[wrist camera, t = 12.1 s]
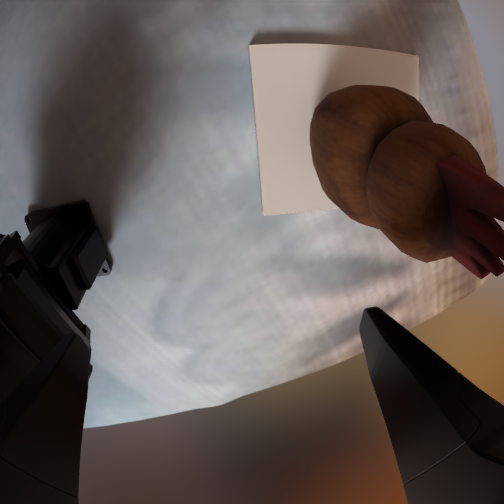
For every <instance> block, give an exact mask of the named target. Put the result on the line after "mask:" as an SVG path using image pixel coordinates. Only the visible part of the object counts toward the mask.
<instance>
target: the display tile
mask: <svg viewBox="0 0 504 504" xmlns="http://www.w3.org/2000/svg"><path fill="white" fill-rule="evenodd" d="M248 52H249V63H250V74H251V84H252V96H253V107H254V119H255V130H256V142H257V154H258V167H259V179H260V192H261V205H262V212H263V216H268V215H277V214H288V213H298V212H309V211H321V210H333V209H340V208H339V207H337V206H336V205H335V204H334V203H333V202H332V201H331V200H330V199H329V198H328V197H327V195H326V194H325V192H324V191H323V189H322V187H321V184H320V181H319V179H318V176H317V173H316V170H315V168H314V165H313V161H312V154H311V147H310V123H311V120H312V117H313V113H314V110H315V108H316V107H317V106H318V104H319V103H320V102H321V101H322V100H323V99H324V98H325V97H326V96H327V95H328V93H331V92H334V91H337V90H340V89H343V88H346V87H349V86H352V85H378V86H388V87H394V88H396V89H399V90H401V91H403V92H405V93H407V94H409V95H411V96H413V97H415V98H416V99H417V100H418V101H419V56H416V55H411V54H406V53H400V52H394V51H388V50H381V49H373V48H365V47H356V46H345V45H330V44H259V45H249V46H248Z"/></svg>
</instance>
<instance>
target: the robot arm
mask: <svg viewBox="0 0 504 504" xmlns="http://www.w3.org/2000/svg"><path fill="white" fill-rule="evenodd" d="M81 206H83V207H84V209H82V208H81ZM29 218H30V219H31V220H30V219H29ZM25 222H26V225H27V227H28V230H29V232H30V234H29V235H28V236H27V237H26V238H25V240H24V241H23V242H22V241H21V239H20V238H21V236H20V235H19V233H18V231H17V230H16V231H15V232H13V233H12V234H10V235H9V234H8V235H6V236H5V235H2V234H0V504H78V491H79V489H78V488H79V467H80V453H81V442H82V432H83V424H84V416H85V409H86V402H87V393H88V381H89V378H90V376H91V373H92V369H93V366H92V365H91V364H90V358H91V346H90V332H91V331H90V329H89V328H88V327H87V325H84V324H83V323H82V322H81V320H80V319H79V318H78V317H77V316H76V315H75V313H74V312H73V311H72V310H76V309H78V306H79V304H80V302H81V300H82V298H83V296H84V294H85V292H86V290H90V288H91V286H92V284H93V282H94V280H95V278H96V276H105V275H109V274H110V272H111V270H112V267H111V265H110V262H109V259H108V257H107V255H108V253H107V251H106V248H105V245H104V243H103V240H102V237H101V235H100V232H99V229H98V227H97V226H96V224H95V221H94V218H93V215H92V212H91V209H90V206H89V204H88V202H86V201H85V200H80V201H76V202H71V203H67V204H63V205H58V206H54V207H50V208H46V209H42V210H38V211H34V212H30V213H28V214H27V215H26V216H25ZM104 268H106V269H107V270H105V269H104ZM360 336H361V340H362V344H363V348H364V353H365V357H366V361H367V366H368V370H369V374H370V378H371V380H372V384H373V387H374V390H375V392H376V395H377V398H378V401H379V404H380V407H381V411H382V414H383V416H384V420H385V423H386V426H387V429H388V432H389V436H390V439H391V442H392V446H393V449H394V453H395V456H396V459H397V463H398V467H399V470H400V474H401V478H402V482H403V484H404V490H405V494H406V497H407V502H408V504H504V406H503V405H502V404H501V403H499V402H498V401H496V400H495V399H493V398H492V397H490V396H489V395H488V394H486V393H485V392H484V391H482V390H481V389H479V388H478V387H477V386H476V385H474V384H473V383H472V382H471V381H469V380H468V379H467V378H466V377H464V376H463V375H462V374H461V373H458V371H457V370H456V369H455V368H453V367H452V366H451V365H450V364H448V363H447V362H446V361H445V360H444V359H442V358H441V357H440V356H439V355H438V354H436V353H435V352H434V351H433V350H432V349H430V348H429V347H428V346H427V345H425V344H424V343H423V342H422V341H420V340H419V339H418V338H417V337H415V336H414V335H413V334H412V333H410V332H409V331H408V330H407V329H405V328H404V327H403V326H402V325H400V324H399V323H398V322H397V321H395V320H394V319H393V318H392V317H390V316H389V315H388V314H386V313H385V312H384V311H383V310H381V309H380V308H379V307H370V308H366V309H364V311H363V315H362V319H361V323H360Z"/></svg>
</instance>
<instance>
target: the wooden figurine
mask: <svg viewBox="0 0 504 504" xmlns="http://www.w3.org/2000/svg"><path fill="white" fill-rule="evenodd" d="M310 147H311V154H312V161H313V165H314V168H315V170H316V173H317V176H318V179H319V181H320V184H321V187H322V189H323V191H324V192H325V194H326V195H327V197H328V198H329V199H330V200H331V201H332V202H333V203H334V204H335V205H336V206H337V207H339V208H340V209H341V210H342V211H343V212H344V213H345V214H346V215H348V216H349V217H350V218H351V219H353V220H355V221H357V222H359V223H361V224H364V225H367V226H370V227H373V228H376V229H380V230H381V231H382V232H383V233H384V234H385V235H386V236H387V238H388V239H389V240H390V241H391V242H392V243H393V244H394V245H395V246H396V247H397V248H398V249H399V250H400V251H401V252H403V253H405V254H407V255H409V256H410V257H413V258H415V259H418V260H421V261H423V262H426V263H427V262H431V261H435V260H439V259H443V258H447V257H450V256H452V257H453V258H454V259H456V260H457V261H458V262H459V263H461V264H462V265H463V266H464V267H466V268H467V269H468V270H469V271H471V272H472V273H473V274H475V275H476V276H477V277H478V278H480V279H482V278H484V277H485V276H487V275H488V274H490V272H491V273H493V274H494V275H495V276H499V275H500V274H502V273H503V272H504V265H503V263H502V261H501V260H500V258H501V259H503V260H504V230H503V229H502V228H501V226H500V225H499V224H498V223H497V221H496V220H495V219H494V218H496V219H498V220H501V221H503V222H504V187H503V186H502V185H500V184H499V183H498V182H496V181H495V180H494V179H492V178H491V177H489V176H488V175H487V174H486V169H485V166H484V164H483V162H482V160H481V158H480V156H479V154H478V152H477V151H476V149H475V148H474V147H473V146H472V144H471V143H470V142H469V141H468V140H466V139H465V138H464V137H462V136H461V135H459V134H458V133H457V132H455V131H454V130H452V129H450V128H448V127H446V126H444V125H442V124H436V123H434V122H433V121H432V119H431V118H430V116H429V115H428V113H427V112H426V110H425V109H424V107H423V106H422V105H421V104H420V103H419V101H418V100H417V99H416V98H415V97H413V96H411V95H409V94H407V93H405V92H403V91H401V90H399V89H396V88H394V87H388V86H378V85H352V86H349V87H346V88H343V89H340V90H337V91H334V92H331V93H328V95H327V96H326V97H325V98H324V99H323V100H322V101H321V102H320V103H319V104H318V106H317V107H316V108H315V110H314V113H313V117H312V120H311V123H310ZM499 257H500V258H499Z"/></svg>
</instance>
